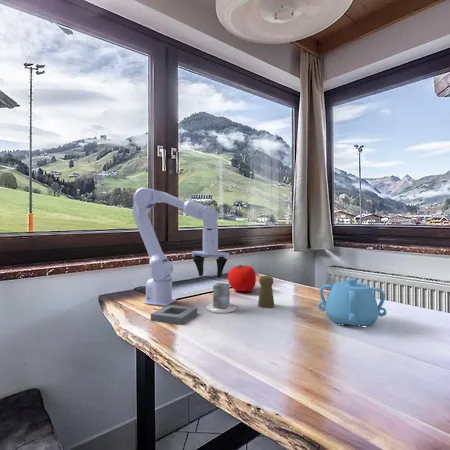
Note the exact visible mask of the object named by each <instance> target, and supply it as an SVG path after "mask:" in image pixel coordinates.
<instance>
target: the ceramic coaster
mask: <svg viewBox="0 0 450 450" xmlns="http://www.w3.org/2000/svg"><path fill="white" fill-rule="evenodd" d="M205 310H207V312H209V313H212V314H229V313H233V312H236V311H237V310H238V306H237V305H236V304H235V303H231V302H230V306H229V307H227V308H226V309H218V308H213V303H209V304H207V305H206V307H205Z"/></svg>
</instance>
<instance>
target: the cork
mask: <svg viewBox="0 0 450 450" xmlns="http://www.w3.org/2000/svg"><path fill="white" fill-rule="evenodd" d="M258 284H259V285H260V287H259V295H258V302H257V307H259V308H262V309H272V308H275V300H274V292H273V284H274V278H273V277H272V276H270V275H261V276H260V277H259V280H258Z"/></svg>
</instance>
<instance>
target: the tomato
mask: <svg viewBox="0 0 450 450" xmlns="http://www.w3.org/2000/svg"><path fill="white" fill-rule="evenodd" d="M227 280H228V284H230V288H232V289H233V290H234V291H235V290H236V291H239V292H251V291H252V290H254V288H255V286H256V283H257V276H256V272H255V269H254V268H253V267H252V266H249V265H241V264H239V265H237V266H233V267H232V268H231V269H230V270H229V272H228V276H227Z"/></svg>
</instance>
